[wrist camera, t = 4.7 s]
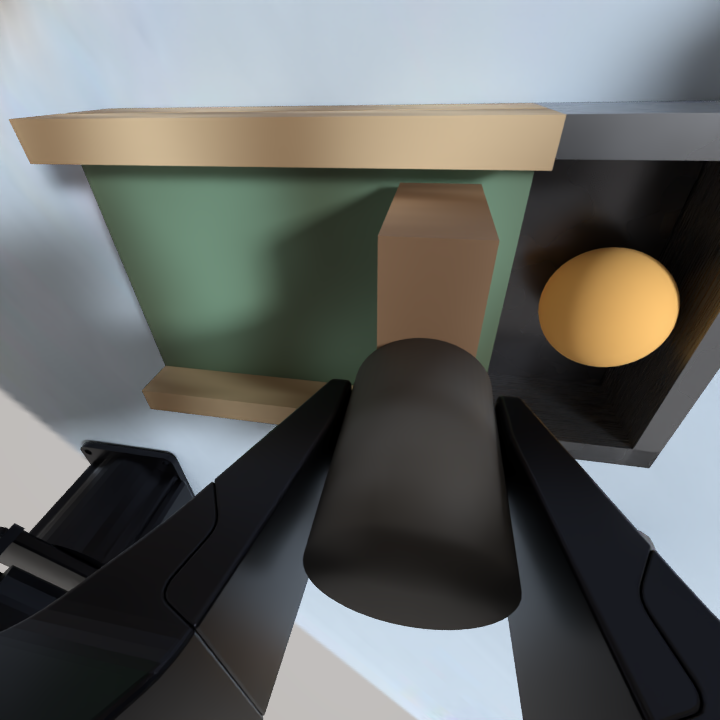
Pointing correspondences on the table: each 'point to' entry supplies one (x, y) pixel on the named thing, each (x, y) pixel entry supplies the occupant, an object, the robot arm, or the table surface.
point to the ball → (609, 307)
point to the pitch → (281, 228)
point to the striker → (422, 434)
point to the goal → (624, 230)
